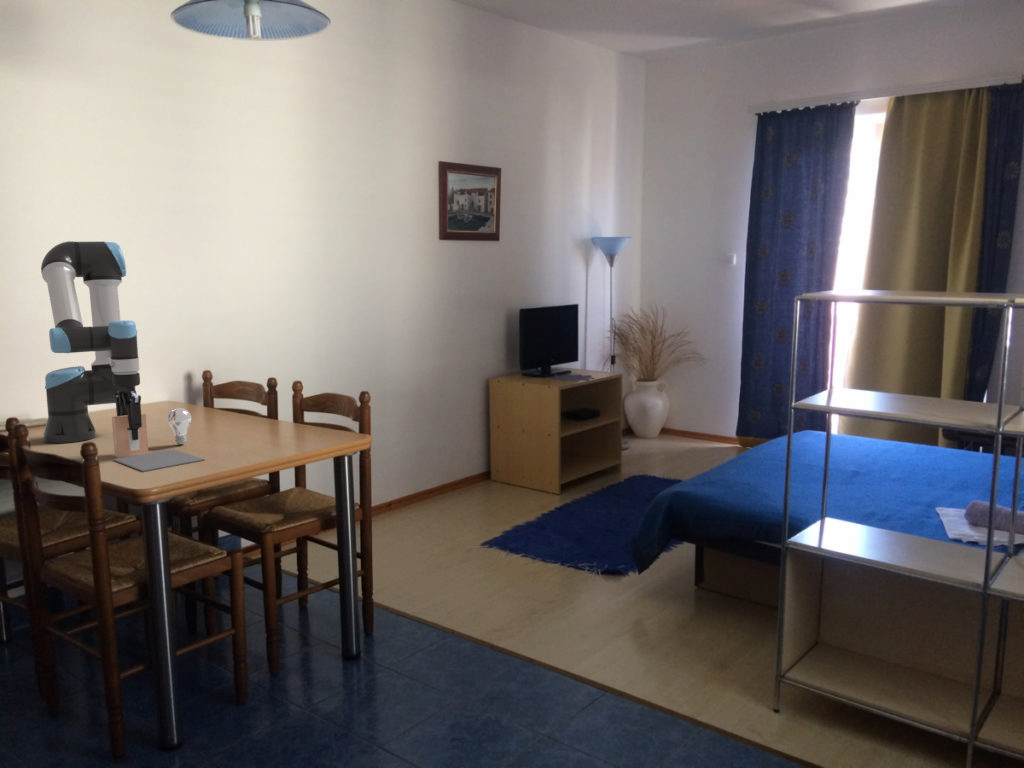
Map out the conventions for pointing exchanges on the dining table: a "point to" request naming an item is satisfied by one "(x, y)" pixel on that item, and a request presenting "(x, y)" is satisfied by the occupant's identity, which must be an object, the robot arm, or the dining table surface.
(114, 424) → the tile
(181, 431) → the light bulb
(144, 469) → the mat
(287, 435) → the dining table surface
